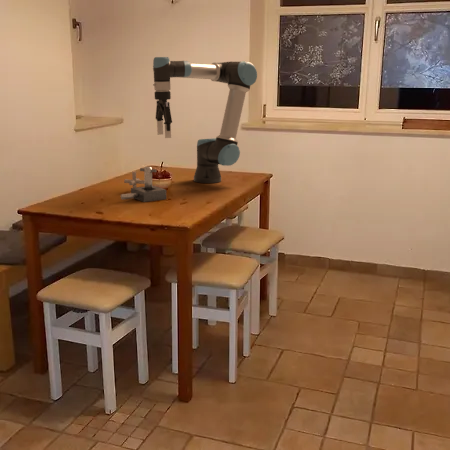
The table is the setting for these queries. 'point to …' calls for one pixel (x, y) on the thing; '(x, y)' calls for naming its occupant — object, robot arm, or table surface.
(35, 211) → the table surface
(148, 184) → the chuck key
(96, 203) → the table surface
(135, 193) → the block
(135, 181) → the pipe connector
